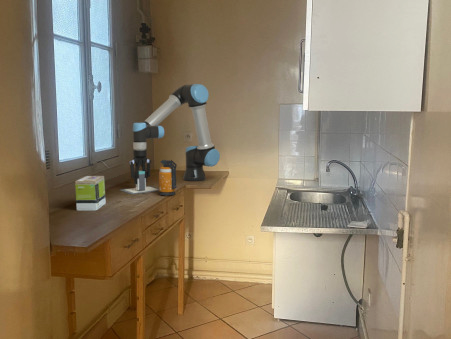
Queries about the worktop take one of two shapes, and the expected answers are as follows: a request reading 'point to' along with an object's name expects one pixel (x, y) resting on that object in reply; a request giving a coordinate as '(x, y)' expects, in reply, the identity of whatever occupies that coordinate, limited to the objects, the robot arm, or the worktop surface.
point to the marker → (141, 180)
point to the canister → (167, 178)
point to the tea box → (90, 193)
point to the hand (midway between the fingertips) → (140, 189)
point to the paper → (134, 191)
